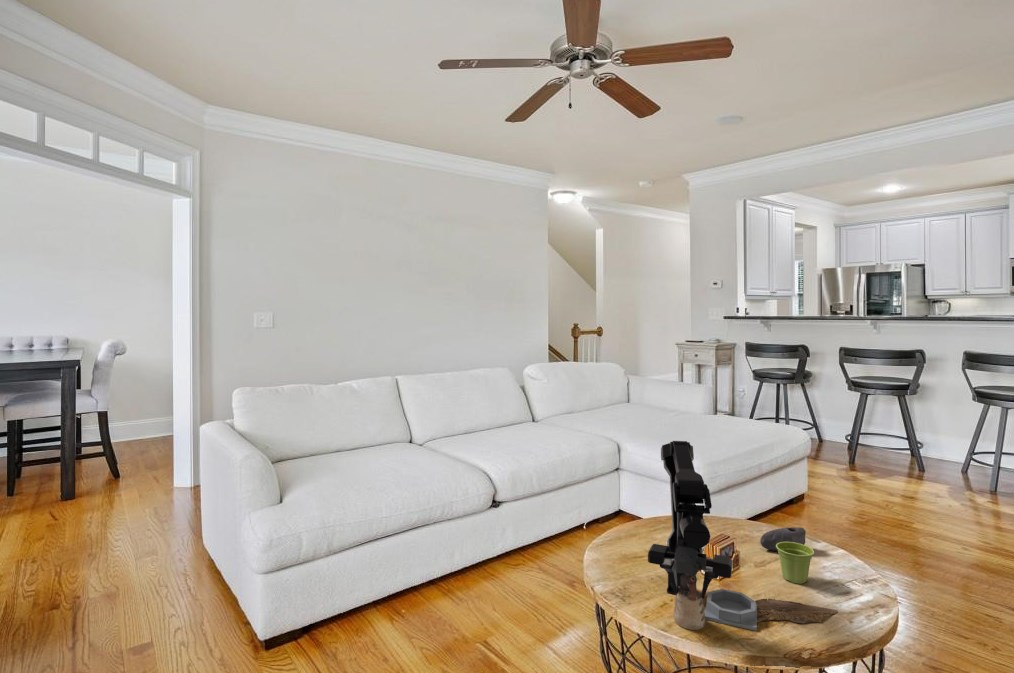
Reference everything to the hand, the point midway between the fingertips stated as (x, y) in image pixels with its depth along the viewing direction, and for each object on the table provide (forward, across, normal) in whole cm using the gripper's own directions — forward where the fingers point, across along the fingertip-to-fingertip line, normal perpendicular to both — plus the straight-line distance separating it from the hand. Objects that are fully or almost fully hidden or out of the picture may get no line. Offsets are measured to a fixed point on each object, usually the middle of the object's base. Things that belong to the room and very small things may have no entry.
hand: (689, 595), depth 127 cm
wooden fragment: (+7, +21, +15) cm, 27 cm away
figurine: (+7, 0, 0) cm, 7 cm away
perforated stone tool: (+7, +22, +55) cm, 60 cm away
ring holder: (+6, +9, +9) cm, 14 cm away
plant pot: (+7, +24, +35) cm, 43 cm away
